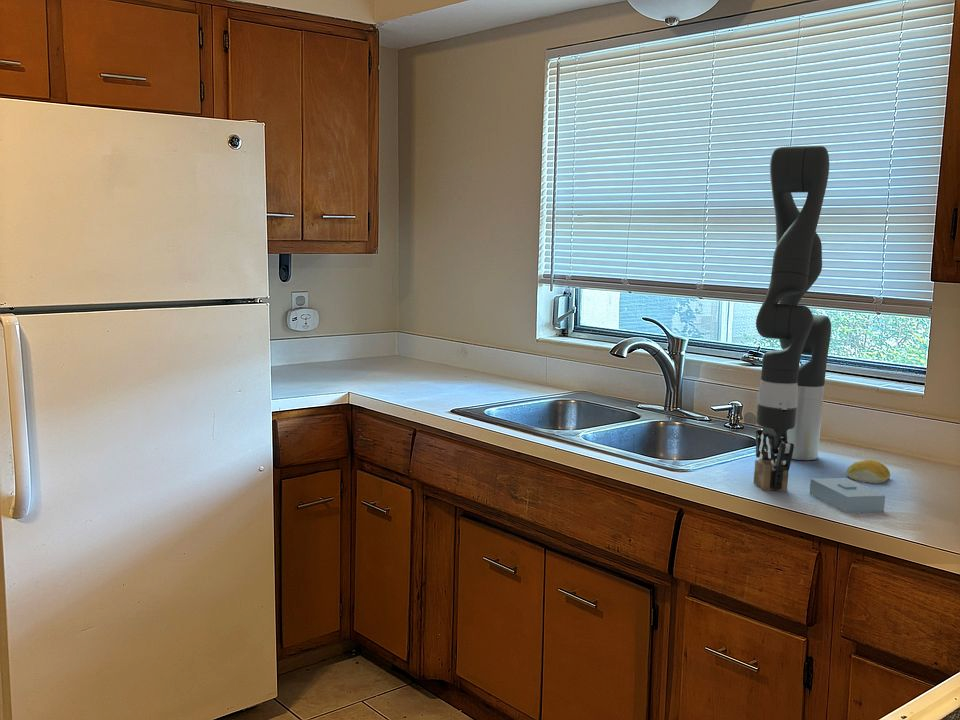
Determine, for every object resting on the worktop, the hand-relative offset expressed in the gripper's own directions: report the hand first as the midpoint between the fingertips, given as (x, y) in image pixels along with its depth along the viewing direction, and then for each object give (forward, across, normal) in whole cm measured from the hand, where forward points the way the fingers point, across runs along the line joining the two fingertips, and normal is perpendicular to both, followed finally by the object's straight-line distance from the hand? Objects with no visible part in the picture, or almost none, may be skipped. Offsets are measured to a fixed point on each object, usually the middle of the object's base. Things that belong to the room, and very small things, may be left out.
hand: (770, 484), depth 182 cm
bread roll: (+1, -8, +25) cm, 26 cm away
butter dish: (+1, +10, +11) cm, 15 cm away
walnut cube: (0, 0, 0) cm, 0 cm away
